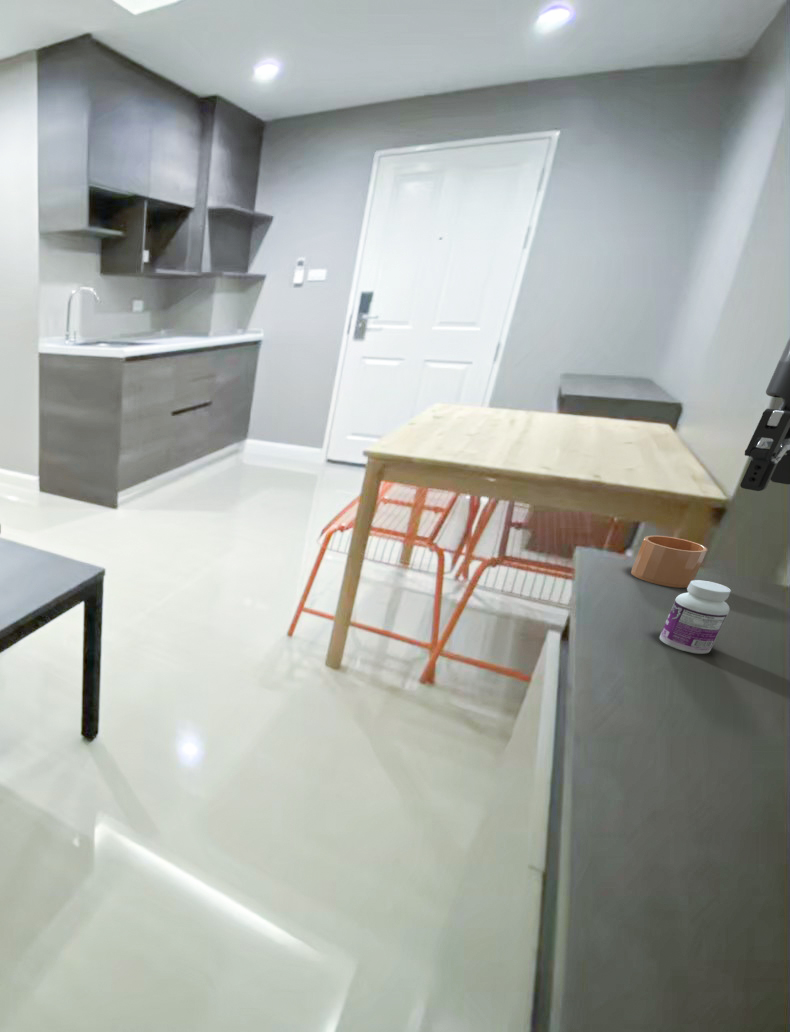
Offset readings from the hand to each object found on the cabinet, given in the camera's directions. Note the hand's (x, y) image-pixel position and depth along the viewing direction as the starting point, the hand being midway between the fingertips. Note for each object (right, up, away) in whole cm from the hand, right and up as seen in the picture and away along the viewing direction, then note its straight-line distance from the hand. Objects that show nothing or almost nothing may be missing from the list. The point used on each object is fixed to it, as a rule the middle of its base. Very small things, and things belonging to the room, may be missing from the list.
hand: (766, 486), depth 81 cm
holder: (+14, -14, +28) cm, 34 cm away
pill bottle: (-4, -23, +7) cm, 24 cm away
